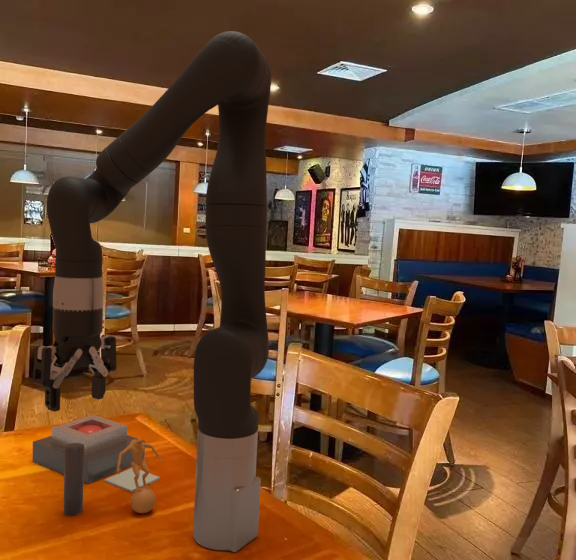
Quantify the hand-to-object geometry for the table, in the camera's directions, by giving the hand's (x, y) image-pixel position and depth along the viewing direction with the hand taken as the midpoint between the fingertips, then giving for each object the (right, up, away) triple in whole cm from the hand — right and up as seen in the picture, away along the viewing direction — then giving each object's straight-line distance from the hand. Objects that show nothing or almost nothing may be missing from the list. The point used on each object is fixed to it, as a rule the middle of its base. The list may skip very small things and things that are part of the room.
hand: (76, 404), depth 95 cm
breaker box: (-5, -16, +22) cm, 27 cm away
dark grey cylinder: (-1, -18, +2) cm, 18 cm away
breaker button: (-5, -14, +21) cm, 26 cm away
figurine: (+9, -19, +3) cm, 21 cm away
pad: (+5, -17, +14) cm, 23 cm away
